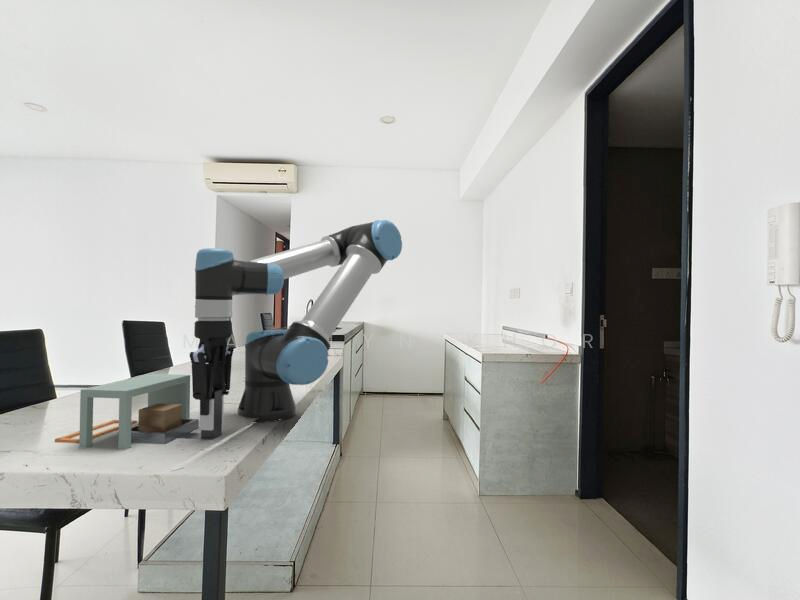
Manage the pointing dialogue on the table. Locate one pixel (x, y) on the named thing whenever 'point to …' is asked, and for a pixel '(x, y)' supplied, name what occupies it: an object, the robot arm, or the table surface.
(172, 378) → the tunnel
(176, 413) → the walnut block
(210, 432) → the slider
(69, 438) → the orange rails
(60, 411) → the table surface
